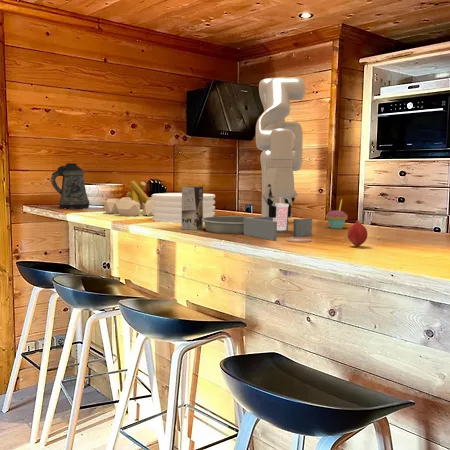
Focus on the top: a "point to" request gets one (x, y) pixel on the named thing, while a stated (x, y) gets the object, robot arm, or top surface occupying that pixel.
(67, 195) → the beer stein
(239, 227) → the cake pan
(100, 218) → the top surface
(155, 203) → the plate stack
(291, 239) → the coaster
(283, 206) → the beverage cup
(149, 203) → the campfire
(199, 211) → the coffee box
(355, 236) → the onion
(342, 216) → the cupcake
